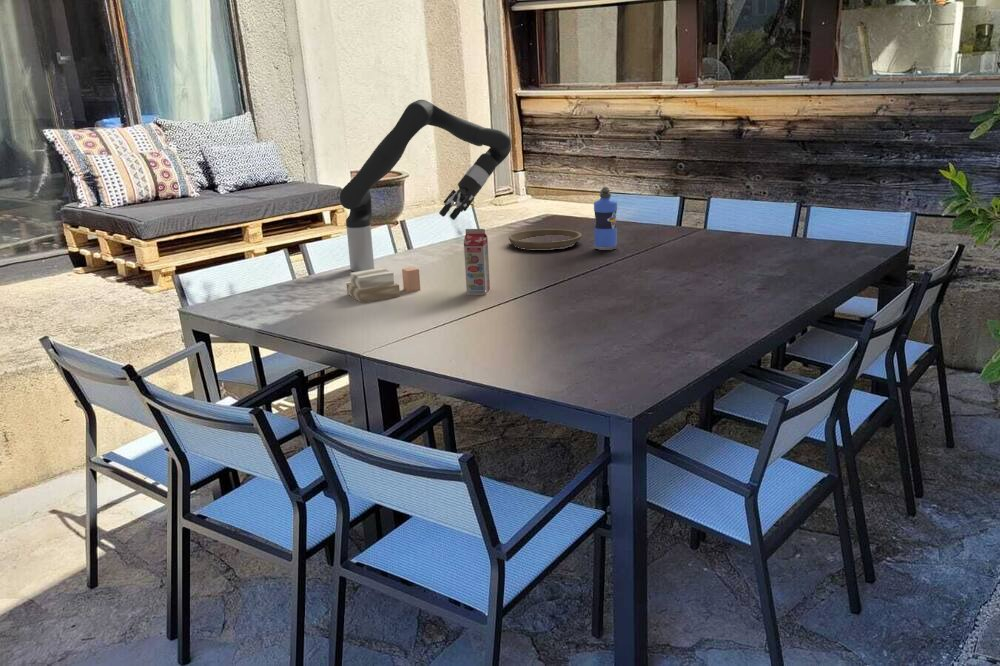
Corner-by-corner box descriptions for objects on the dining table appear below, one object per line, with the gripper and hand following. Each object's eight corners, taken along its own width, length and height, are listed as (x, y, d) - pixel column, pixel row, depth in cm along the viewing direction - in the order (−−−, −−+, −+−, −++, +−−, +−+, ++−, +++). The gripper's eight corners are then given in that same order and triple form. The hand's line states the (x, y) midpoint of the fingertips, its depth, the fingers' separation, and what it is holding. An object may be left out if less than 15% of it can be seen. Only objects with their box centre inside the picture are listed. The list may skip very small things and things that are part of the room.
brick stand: (347, 294, 305) (345, 272, 303) (384, 288, 311) (383, 266, 309) (361, 302, 293) (359, 279, 291) (400, 296, 300) (398, 273, 297)
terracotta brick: (403, 289, 309) (402, 268, 307) (415, 287, 311) (413, 266, 309) (408, 292, 305) (407, 271, 303) (420, 290, 307) (419, 269, 305)
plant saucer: (545, 235, 394) (544, 225, 392) (597, 243, 372) (596, 232, 370) (493, 247, 374) (493, 236, 373) (545, 256, 352) (545, 245, 350)
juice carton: (471, 289, 304) (467, 227, 298) (489, 290, 303) (486, 227, 296) (466, 294, 298) (463, 230, 291) (485, 295, 296) (482, 230, 290)
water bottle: (590, 249, 359) (589, 188, 352) (601, 245, 366) (600, 185, 359) (610, 251, 354) (610, 189, 346) (621, 247, 361) (621, 186, 354)
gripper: (457, 172, 313) (430, 207, 312) (475, 175, 301) (447, 212, 300) (471, 185, 317) (444, 220, 316) (490, 189, 305) (462, 226, 303)
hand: (446, 216), depth 308 cm, fingers open, 8 cm apart
